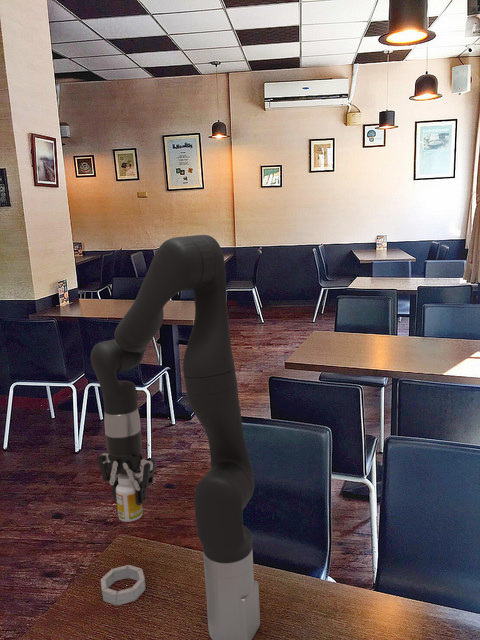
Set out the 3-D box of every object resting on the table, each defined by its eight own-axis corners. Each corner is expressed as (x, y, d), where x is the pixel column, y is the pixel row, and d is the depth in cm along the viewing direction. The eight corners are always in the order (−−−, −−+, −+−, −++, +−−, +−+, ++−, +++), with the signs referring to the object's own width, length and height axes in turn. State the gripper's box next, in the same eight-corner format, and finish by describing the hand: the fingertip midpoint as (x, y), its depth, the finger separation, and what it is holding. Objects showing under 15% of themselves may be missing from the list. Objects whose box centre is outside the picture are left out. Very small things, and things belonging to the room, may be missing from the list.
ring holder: (152, 581, 113) (151, 571, 113) (127, 609, 105) (126, 598, 105) (120, 571, 117) (119, 562, 117) (93, 597, 109) (92, 587, 109)
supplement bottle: (145, 509, 117) (142, 469, 115) (139, 522, 112) (135, 481, 110) (122, 509, 117) (118, 469, 116) (115, 522, 112) (111, 481, 110)
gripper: (160, 426, 111) (166, 498, 114) (107, 419, 117) (113, 488, 120) (140, 440, 105) (146, 516, 108) (85, 431, 110) (92, 504, 113)
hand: (129, 500), depth 114 cm, fingers closed on supplement bottle, 5 cm apart
